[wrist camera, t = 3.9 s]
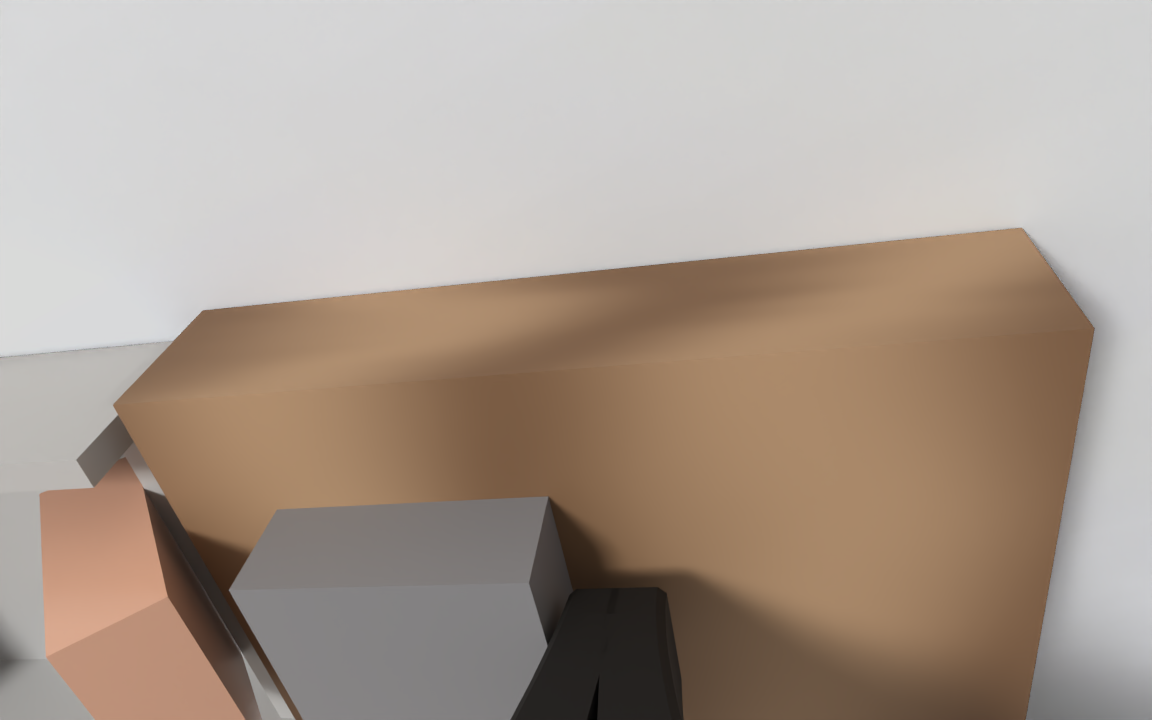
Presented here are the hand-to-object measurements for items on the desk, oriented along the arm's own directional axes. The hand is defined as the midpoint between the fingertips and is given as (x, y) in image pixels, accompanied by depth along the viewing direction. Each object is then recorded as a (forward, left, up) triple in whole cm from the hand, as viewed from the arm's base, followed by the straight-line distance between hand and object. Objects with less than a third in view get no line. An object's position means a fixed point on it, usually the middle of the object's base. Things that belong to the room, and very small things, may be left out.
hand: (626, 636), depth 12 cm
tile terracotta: (+7, 0, -1) cm, 7 cm away
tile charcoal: (+3, 0, -1) cm, 3 cm away
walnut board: (+1, 0, -3) cm, 3 cm away
